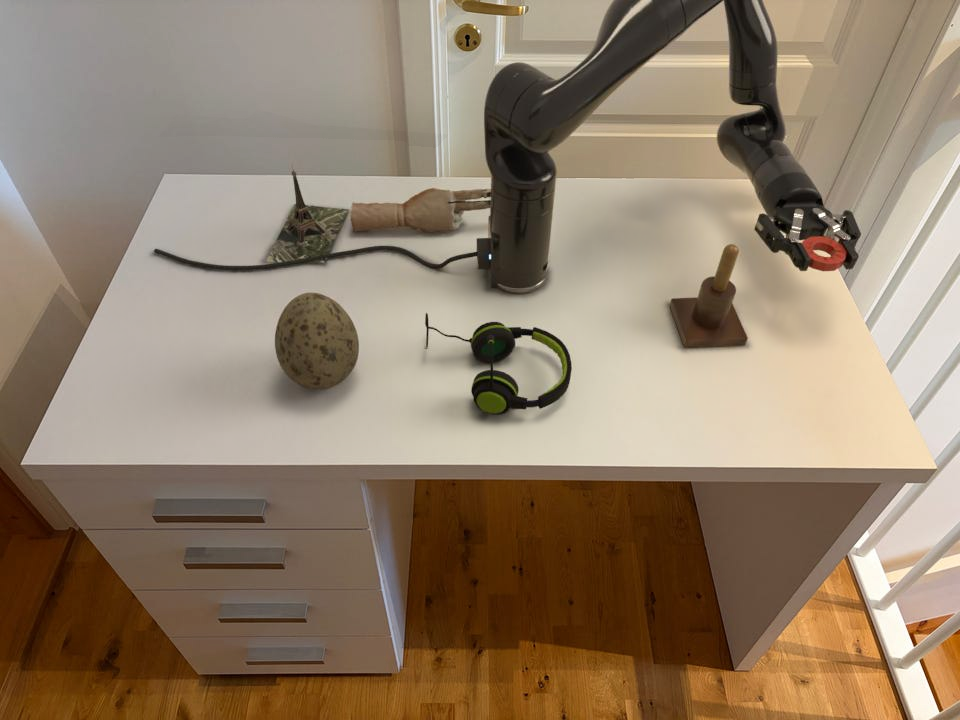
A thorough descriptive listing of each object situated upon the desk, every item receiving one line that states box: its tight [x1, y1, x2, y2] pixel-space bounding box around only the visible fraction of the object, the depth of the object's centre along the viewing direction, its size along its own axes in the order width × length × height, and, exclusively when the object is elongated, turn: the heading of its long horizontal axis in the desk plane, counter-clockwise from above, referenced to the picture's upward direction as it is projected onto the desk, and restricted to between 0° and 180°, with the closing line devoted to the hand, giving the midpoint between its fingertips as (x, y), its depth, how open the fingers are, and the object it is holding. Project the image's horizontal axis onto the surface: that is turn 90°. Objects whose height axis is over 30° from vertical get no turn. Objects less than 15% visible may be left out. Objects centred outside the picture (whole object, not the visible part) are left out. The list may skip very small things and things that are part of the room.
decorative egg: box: [274, 292, 360, 391], centre depth 95 cm, size 11×11×15 cm
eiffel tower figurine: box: [265, 164, 350, 264], centre depth 117 cm, size 15×10×13 cm
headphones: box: [424, 312, 573, 416], centre depth 98 cm, size 16×10×20 cm
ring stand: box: [669, 243, 749, 349], centre depth 103 cm, size 9×9×15 cm
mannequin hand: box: [349, 187, 491, 233], centre depth 121 cm, size 7×7×25 cm
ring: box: [801, 236, 847, 272], centre depth 100 cm, size 6×6×1 cm
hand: (829, 265), depth 98 cm, fingers closed on ring, 5 cm apart
